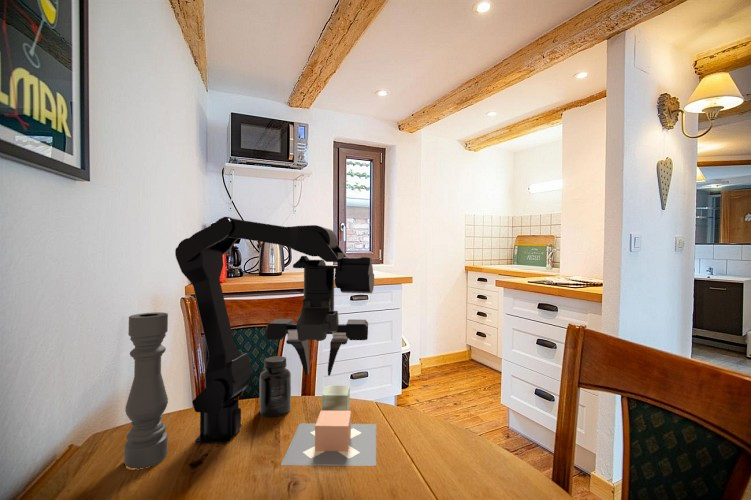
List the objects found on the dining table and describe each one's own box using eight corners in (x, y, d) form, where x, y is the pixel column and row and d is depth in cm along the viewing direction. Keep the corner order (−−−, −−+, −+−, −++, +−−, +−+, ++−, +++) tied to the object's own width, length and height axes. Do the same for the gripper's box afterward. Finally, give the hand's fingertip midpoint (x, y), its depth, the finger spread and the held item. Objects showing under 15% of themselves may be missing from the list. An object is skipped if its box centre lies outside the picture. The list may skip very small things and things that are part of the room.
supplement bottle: (294, 406, 79) (295, 355, 80) (284, 420, 73) (284, 364, 73) (267, 404, 80) (267, 354, 80) (253, 418, 73) (254, 363, 74)
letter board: (280, 467, 56) (280, 464, 56) (299, 425, 70) (299, 423, 70) (376, 468, 56) (376, 465, 56) (376, 425, 70) (376, 423, 70)
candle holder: (175, 450, 61) (177, 312, 61) (146, 472, 55) (149, 319, 55) (146, 447, 62) (148, 311, 62) (114, 468, 56) (117, 317, 56)
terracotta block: (314, 451, 60) (315, 425, 60) (320, 433, 66) (320, 410, 66) (348, 451, 60) (348, 426, 60) (350, 433, 66) (351, 410, 66)
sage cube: (321, 420, 73) (322, 395, 73) (325, 409, 78) (326, 385, 78) (347, 421, 73) (347, 395, 73) (349, 409, 78) (349, 385, 78)
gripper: (254, 297, 56) (253, 391, 56) (366, 297, 56) (366, 392, 55) (274, 290, 67) (274, 369, 67) (368, 290, 67) (367, 369, 67)
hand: (318, 374), depth 64 cm, fingers open, 4 cm apart
